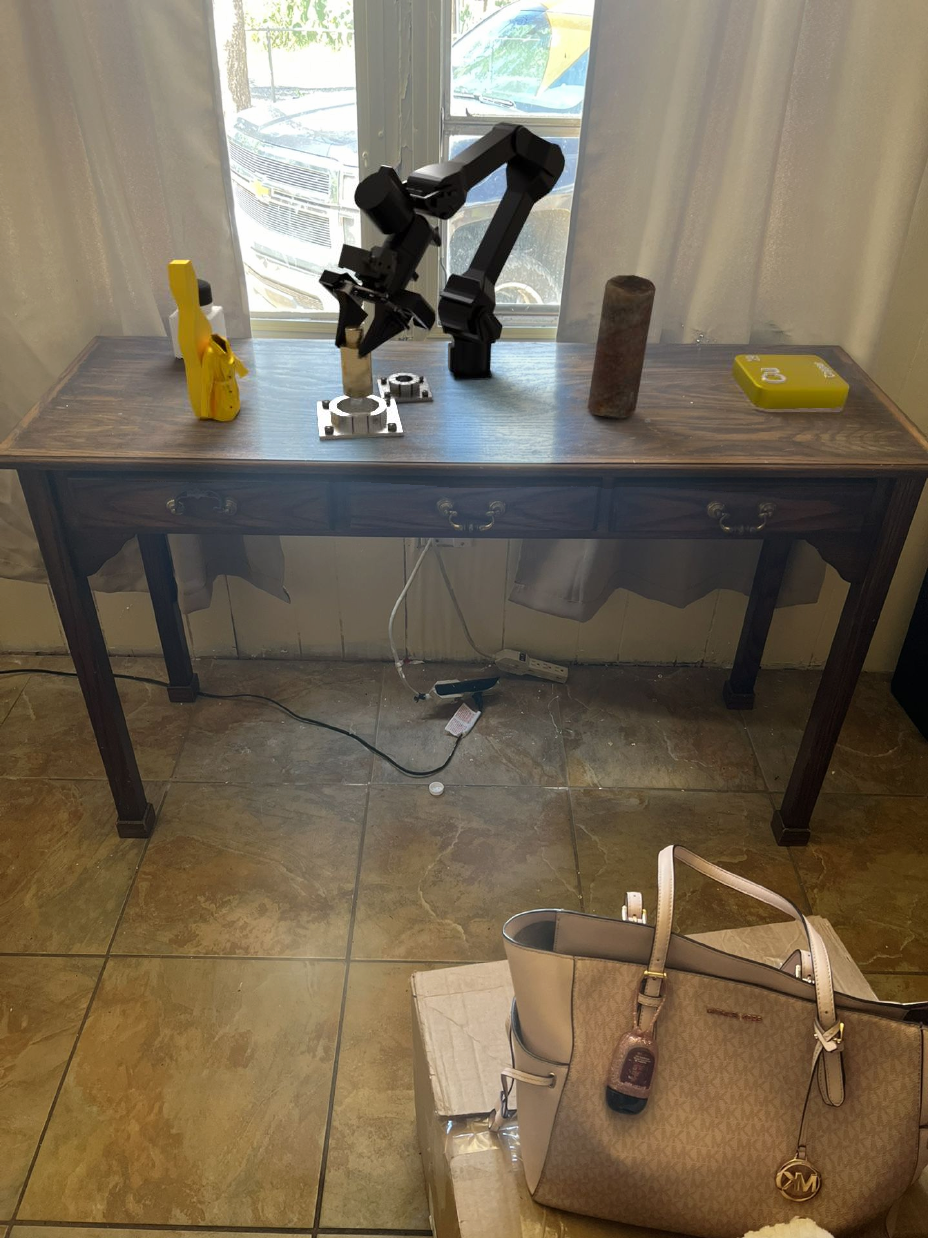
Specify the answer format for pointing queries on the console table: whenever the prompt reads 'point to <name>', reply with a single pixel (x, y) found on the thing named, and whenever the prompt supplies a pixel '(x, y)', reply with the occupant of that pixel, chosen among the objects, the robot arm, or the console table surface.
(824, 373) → the element tile
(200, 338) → the yellow tall sculpted piece
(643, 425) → the console table surface
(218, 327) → the medicine bottle
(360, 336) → the gold metal cylinder
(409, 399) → the flange small
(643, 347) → the rusty brown cylinder
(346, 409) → the flange large
